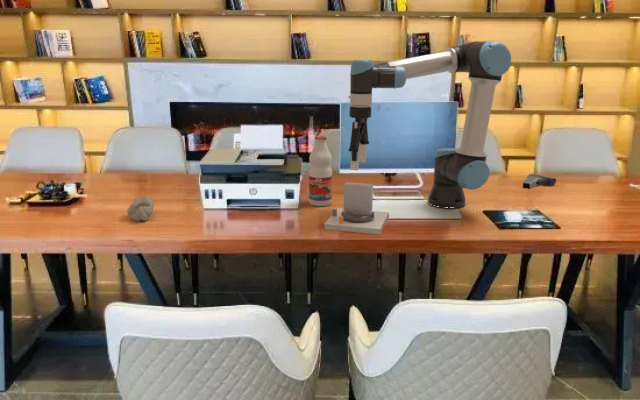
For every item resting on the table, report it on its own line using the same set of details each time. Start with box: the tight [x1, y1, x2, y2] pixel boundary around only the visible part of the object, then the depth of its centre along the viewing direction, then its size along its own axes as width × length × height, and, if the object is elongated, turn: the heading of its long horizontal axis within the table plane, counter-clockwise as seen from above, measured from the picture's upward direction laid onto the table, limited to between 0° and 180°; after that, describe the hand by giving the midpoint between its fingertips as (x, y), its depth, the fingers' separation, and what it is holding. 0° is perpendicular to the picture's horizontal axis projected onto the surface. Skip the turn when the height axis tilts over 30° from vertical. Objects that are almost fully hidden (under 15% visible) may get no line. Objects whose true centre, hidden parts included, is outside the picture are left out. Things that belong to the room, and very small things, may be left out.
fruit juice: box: [308, 134, 333, 207], centre depth 218 cm, size 9×9×28 cm
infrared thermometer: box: [522, 173, 557, 190], centre depth 250 cm, size 5×12×15 cm
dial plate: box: [323, 207, 390, 235], centre depth 198 cm, size 20×20×4 cm
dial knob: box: [342, 181, 374, 222], centre depth 196 cm, size 12×12×12 cm
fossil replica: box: [126, 194, 155, 222], centre depth 201 cm, size 12×8×10 cm
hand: (358, 165), depth 192 cm, fingers open, 13 cm apart
